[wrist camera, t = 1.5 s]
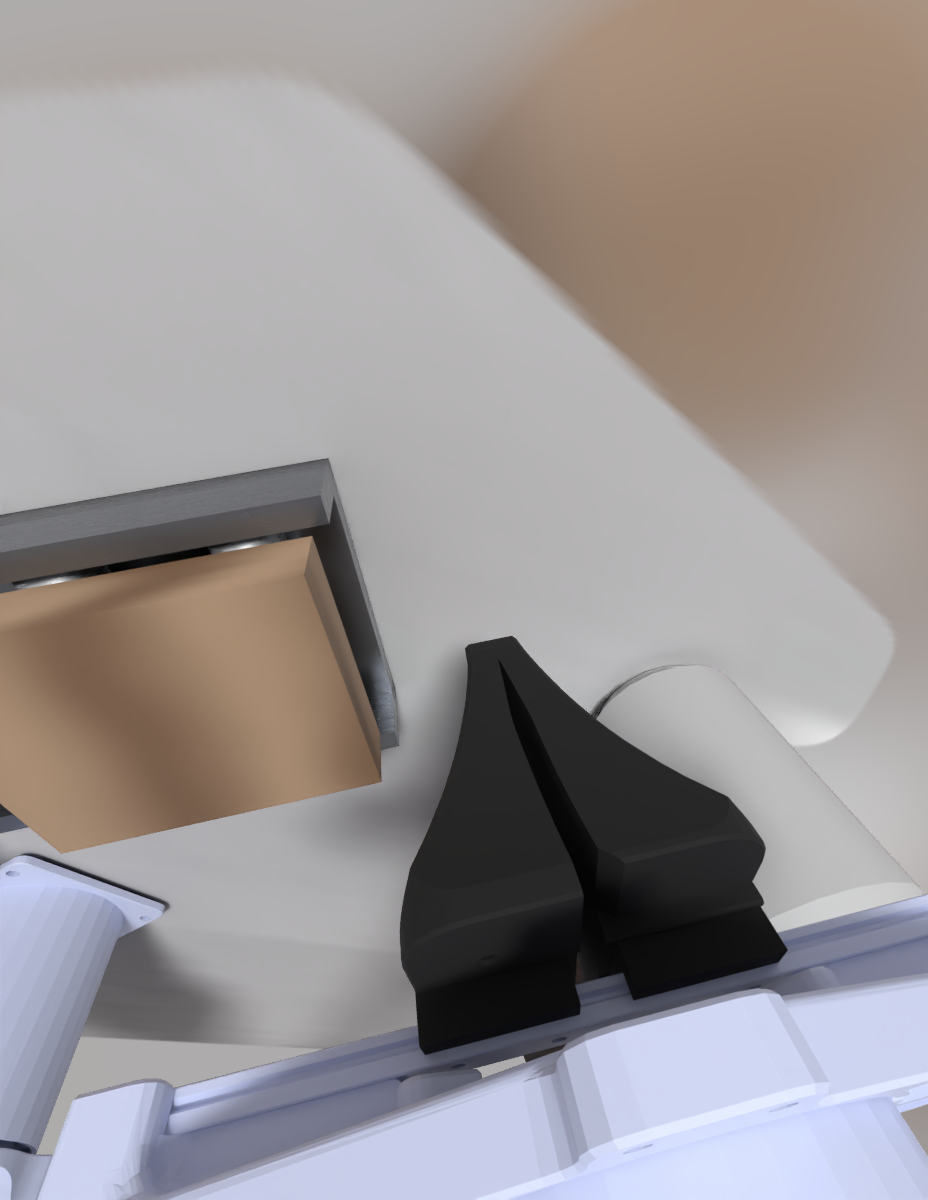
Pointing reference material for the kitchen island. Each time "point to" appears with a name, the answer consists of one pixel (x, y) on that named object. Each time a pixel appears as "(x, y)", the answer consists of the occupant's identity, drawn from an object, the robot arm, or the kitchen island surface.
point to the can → (761, 793)
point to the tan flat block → (178, 696)
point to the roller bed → (205, 549)
